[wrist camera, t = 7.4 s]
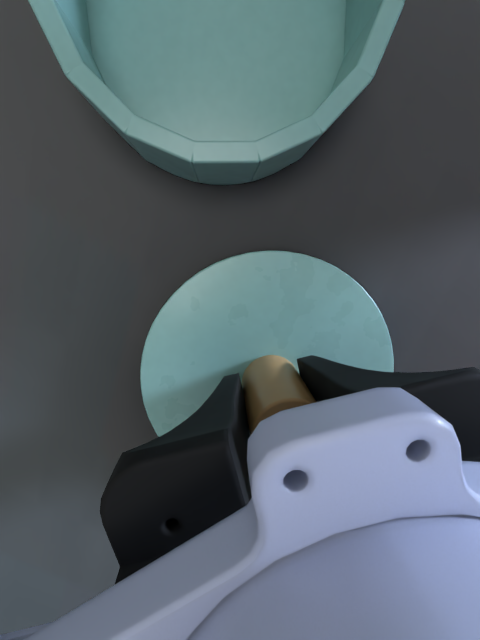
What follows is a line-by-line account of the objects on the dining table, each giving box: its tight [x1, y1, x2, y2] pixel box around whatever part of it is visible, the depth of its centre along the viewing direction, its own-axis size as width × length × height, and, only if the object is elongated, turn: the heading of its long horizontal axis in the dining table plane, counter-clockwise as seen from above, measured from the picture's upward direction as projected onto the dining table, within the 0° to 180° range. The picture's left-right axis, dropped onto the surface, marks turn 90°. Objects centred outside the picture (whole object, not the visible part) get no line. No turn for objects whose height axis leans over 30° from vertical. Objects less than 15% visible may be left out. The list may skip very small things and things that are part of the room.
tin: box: [28, 0, 405, 185], centre depth 10 cm, size 10×10×4 cm
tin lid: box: [140, 250, 394, 437], centre depth 12 cm, size 11×11×5 cm
